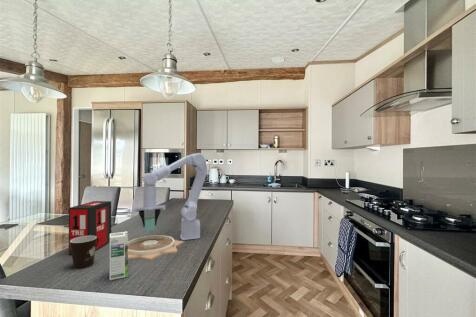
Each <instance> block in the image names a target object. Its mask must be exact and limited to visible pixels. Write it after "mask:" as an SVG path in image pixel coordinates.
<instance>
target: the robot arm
mask: <svg viewBox="0 0 476 317" xmlns="http://www.w3.org/2000/svg"><path fill="white" fill-rule="evenodd" d="M185 165H191V166H192V167H193V168H194V169H195V171H196V175H195V178H194V180H193V183H192V186H191V189H190V193H189V196H188V198H187V200H186V202H185V203H184V205H183V207H182V208H181V210H180V216H181V217H182V218H181V219H180V220H181V221H180V222H181V224H180V225H181V226H180V227H181V228H180V229H181V230H180V232H181V233H180V234H179V238H180V239H181V241H187V240H195V239H201V221H200V219H197V215H198V214H197V210H198V202H199V198H200V195H201V192H202V189H203V185H204V183H205V179H206V176H207V174H208V168H207V159H206V158H205V156H204V154H203V153H201V152H197V153H191V154H188V155H186V156H184V157H181V158H179V159H178V160H176V161H174V162H172V163H170V164H169V165H168V164H160V165H159V166H158V167H157V168H155V169H153V170H152V169H151V170H150V172H147V173H145V174H144V175H143V177H142V181H143V190H142V192H143V196H142V197H143V206H142V205H141V206H136V207H135V206H134V207H133V213H137V212H138V215H139V217H140V219H141V221H142V227H144V228H145V212H151V211H154V217H155V227H156V226H157V222H158V219H159V217H160V214H161V213H162V212H161V211H165V210H166V205H165V204H164V205H162V204H161V205H159V204H158V205H157V187H156V183H157V182H158V181H161V180H163V179H165V178H166V177H168V176H169V177H170V176H171V172H173V171H175V170H177V169H179V168H181V167H184V166H185Z"/></svg>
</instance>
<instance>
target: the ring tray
mask: <svg viewBox="0 0 476 317" xmlns="http://www.w3.org/2000/svg"><path fill="white" fill-rule="evenodd" d="M174 238H175V237H173V236H172V235H170V236H169V235H163V234H160V235H157V234H152V235H144V236H141V237H140V236H139V237H135V238H134V239H130V240H128V261H129V260H135V259H141V260H147V261H154V260H155V259H157V258H159V257H160V256H164V255H170V254H171V255H172V254H177V253H178V249H177V248H178V247H179V246H181V245H183V244H184V243H185V241H184V240H176V239H174Z"/></svg>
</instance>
